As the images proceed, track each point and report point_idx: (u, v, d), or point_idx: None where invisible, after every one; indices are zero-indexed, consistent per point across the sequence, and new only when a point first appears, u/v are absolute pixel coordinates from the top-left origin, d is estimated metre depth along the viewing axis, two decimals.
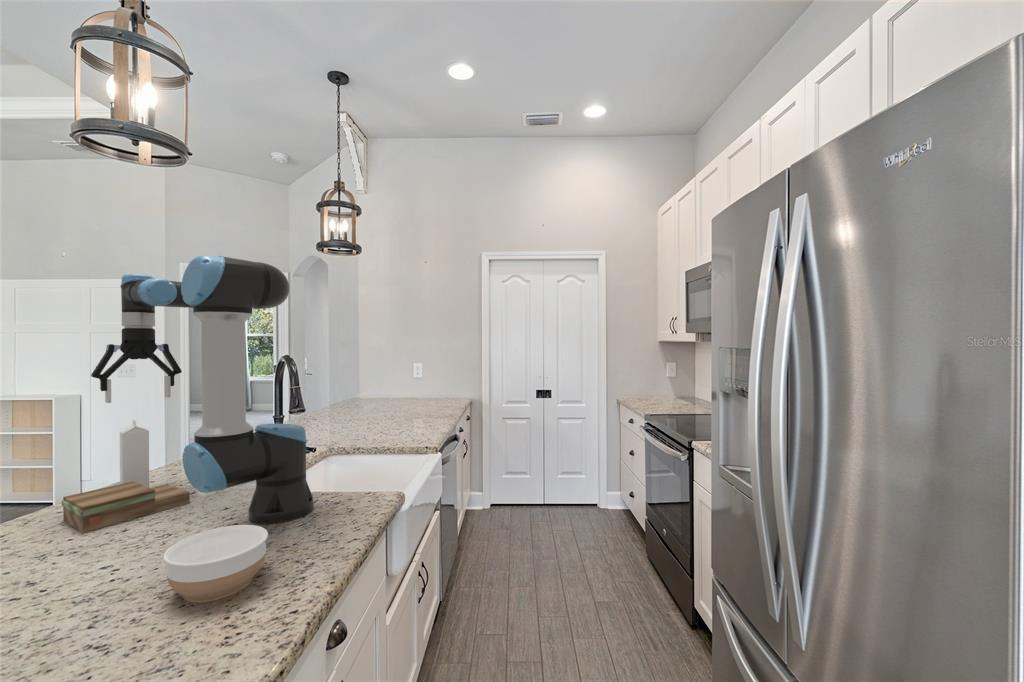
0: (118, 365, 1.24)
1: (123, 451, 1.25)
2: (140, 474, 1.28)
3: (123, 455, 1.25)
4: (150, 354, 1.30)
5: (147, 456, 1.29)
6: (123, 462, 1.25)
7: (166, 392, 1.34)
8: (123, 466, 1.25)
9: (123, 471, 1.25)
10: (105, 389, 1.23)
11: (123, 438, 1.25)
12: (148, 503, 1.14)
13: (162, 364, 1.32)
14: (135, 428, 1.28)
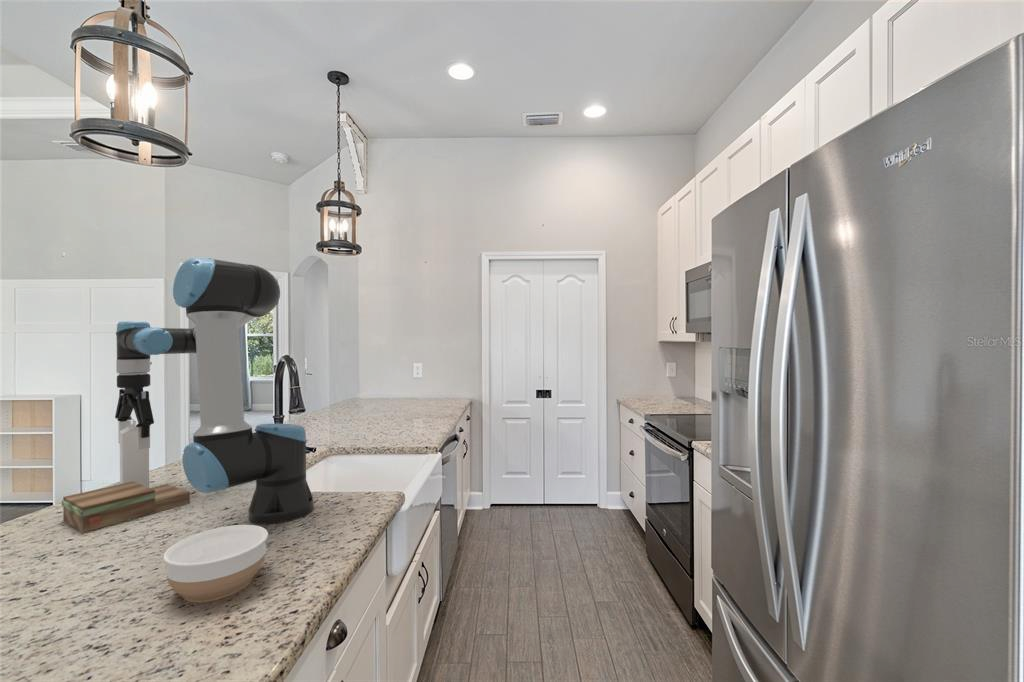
0: (122, 409, 1.31)
1: (123, 451, 1.25)
2: (139, 474, 1.28)
3: (123, 455, 1.25)
4: (129, 401, 1.27)
5: (147, 456, 1.29)
6: (123, 462, 1.25)
7: None
8: (123, 466, 1.25)
9: (123, 471, 1.25)
10: (120, 430, 1.33)
11: (123, 438, 1.25)
12: (148, 503, 1.14)
13: (136, 413, 1.26)
14: (135, 428, 1.28)
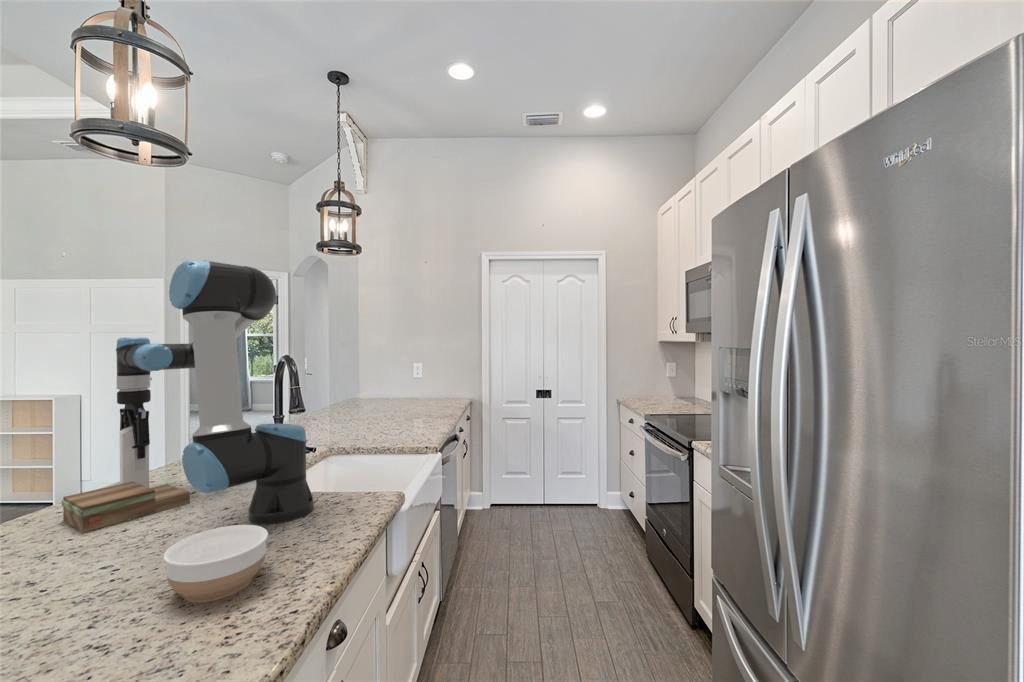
0: None
1: (123, 451, 1.25)
2: (140, 474, 1.28)
3: (123, 455, 1.25)
4: (129, 418, 1.27)
5: (147, 456, 1.29)
6: (123, 462, 1.25)
7: None
8: (123, 466, 1.25)
9: (123, 471, 1.25)
10: None
11: (123, 438, 1.25)
12: (148, 503, 1.14)
13: (133, 432, 1.27)
14: None
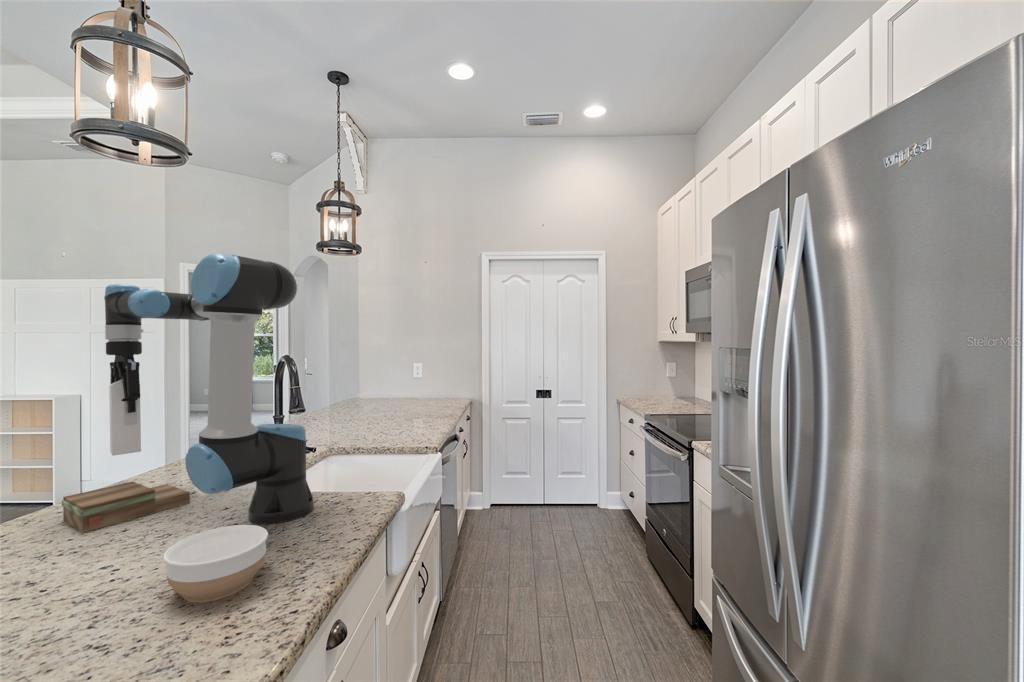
0: None
1: (112, 404, 1.18)
2: (130, 429, 1.21)
3: (112, 408, 1.18)
4: (118, 370, 1.20)
5: (138, 411, 1.22)
6: (112, 416, 1.18)
7: None
8: (112, 420, 1.18)
9: (112, 425, 1.18)
10: None
11: (112, 390, 1.18)
12: (148, 503, 1.14)
13: (123, 385, 1.19)
14: None
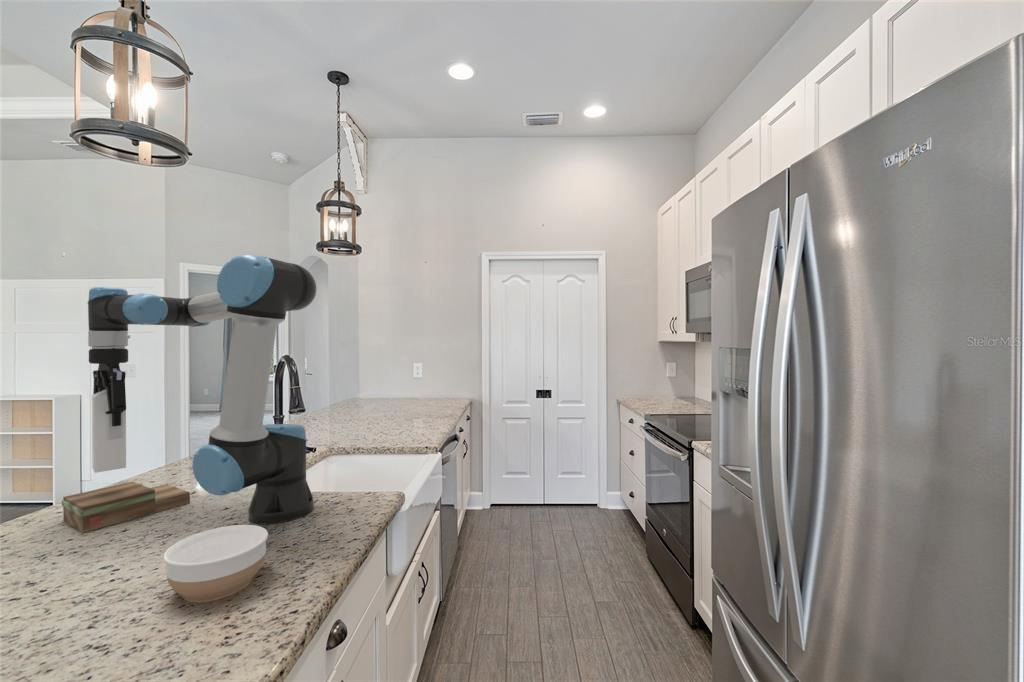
0: None
1: (95, 417, 1.09)
2: (115, 444, 1.12)
3: (95, 422, 1.09)
4: (102, 380, 1.11)
5: (123, 424, 1.13)
6: (95, 430, 1.09)
7: None
8: (95, 434, 1.09)
9: (95, 440, 1.09)
10: None
11: (95, 402, 1.09)
12: (148, 503, 1.14)
13: (107, 396, 1.10)
14: None
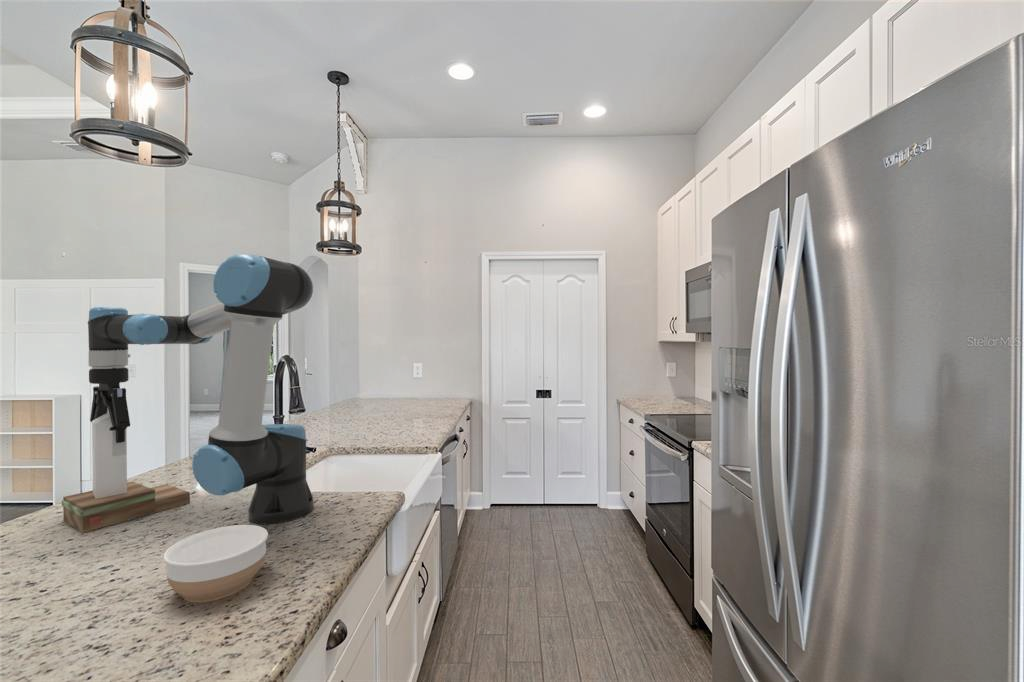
0: (97, 410, 1.14)
1: (96, 443, 1.09)
2: (115, 470, 1.12)
3: (96, 448, 1.09)
4: (103, 399, 1.10)
5: None
6: (96, 456, 1.09)
7: None
8: (96, 461, 1.09)
9: (96, 466, 1.09)
10: None
11: (96, 428, 1.09)
12: (148, 503, 1.14)
13: (110, 414, 1.10)
14: None
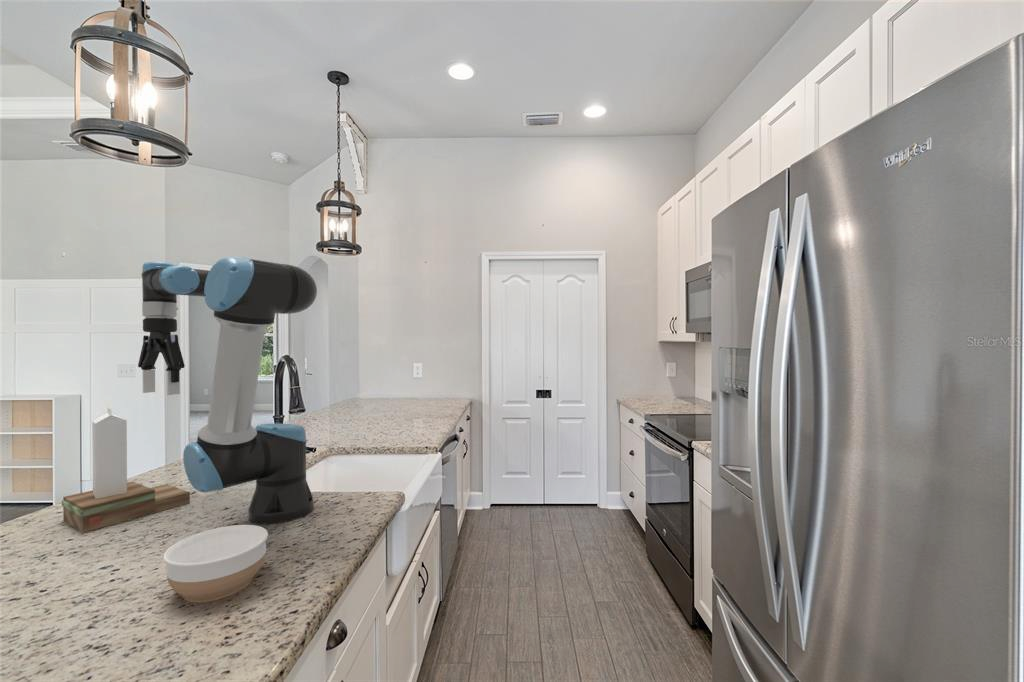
0: (146, 356, 1.25)
1: (96, 443, 1.09)
2: (116, 470, 1.12)
3: (96, 448, 1.09)
4: (157, 346, 1.21)
5: (124, 449, 1.13)
6: (96, 456, 1.09)
7: None
8: (96, 460, 1.09)
9: (96, 466, 1.09)
10: None
11: (96, 428, 1.09)
12: (148, 503, 1.14)
13: (164, 357, 1.20)
14: (110, 417, 1.11)
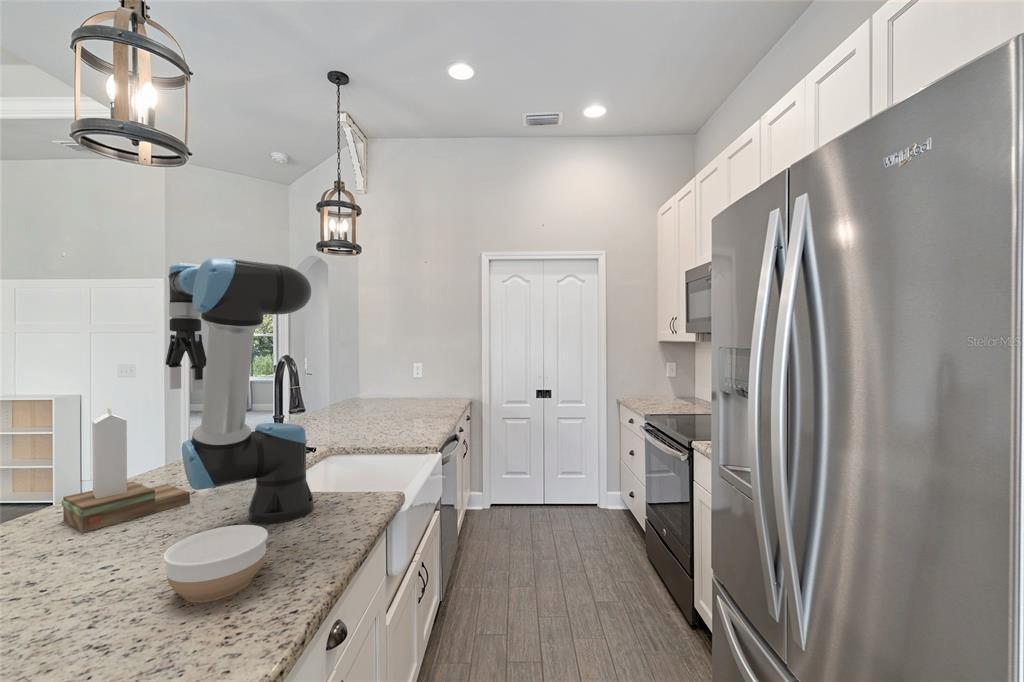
0: (173, 354, 1.31)
1: (96, 443, 1.09)
2: (116, 470, 1.12)
3: (96, 448, 1.09)
4: (182, 345, 1.27)
5: (124, 449, 1.13)
6: (96, 456, 1.09)
7: None
8: (96, 460, 1.09)
9: (96, 466, 1.09)
10: None
11: (96, 428, 1.09)
12: (148, 503, 1.14)
13: (189, 355, 1.26)
14: (110, 417, 1.11)
